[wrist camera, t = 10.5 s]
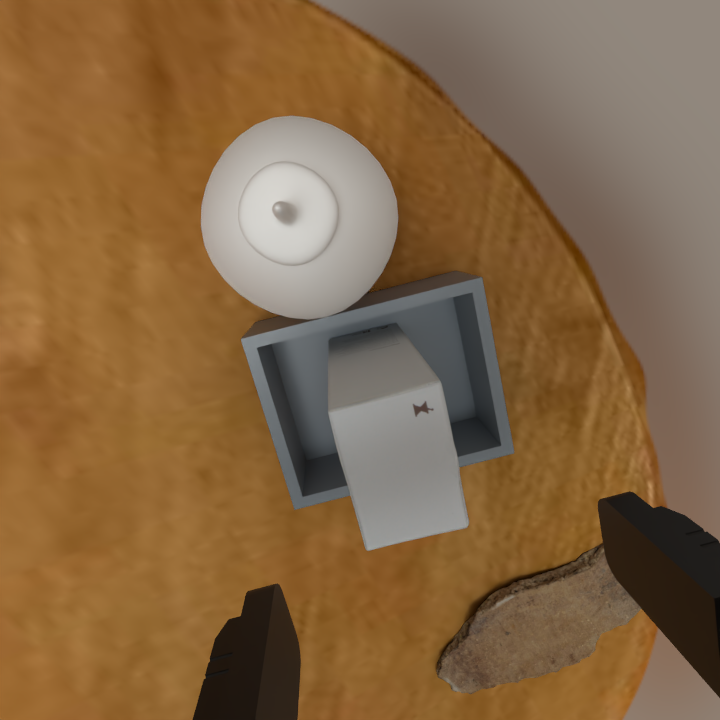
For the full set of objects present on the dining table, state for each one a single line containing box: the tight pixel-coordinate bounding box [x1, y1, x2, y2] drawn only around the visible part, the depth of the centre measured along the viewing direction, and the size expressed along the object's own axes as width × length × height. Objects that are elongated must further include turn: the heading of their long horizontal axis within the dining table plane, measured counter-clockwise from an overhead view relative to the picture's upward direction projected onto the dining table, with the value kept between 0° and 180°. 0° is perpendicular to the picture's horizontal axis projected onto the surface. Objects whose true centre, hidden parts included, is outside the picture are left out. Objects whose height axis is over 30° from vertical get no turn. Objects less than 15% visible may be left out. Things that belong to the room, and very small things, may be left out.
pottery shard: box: [437, 544, 641, 694], centre depth 35 cm, size 8×3×15 cm
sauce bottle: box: [201, 116, 398, 319], centre depth 19 cm, size 8×8×18 cm
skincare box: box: [328, 323, 469, 551], centre depth 23 cm, size 6×4×12 cm
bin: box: [241, 271, 514, 510], centre depth 27 cm, size 10×12×5 cm
